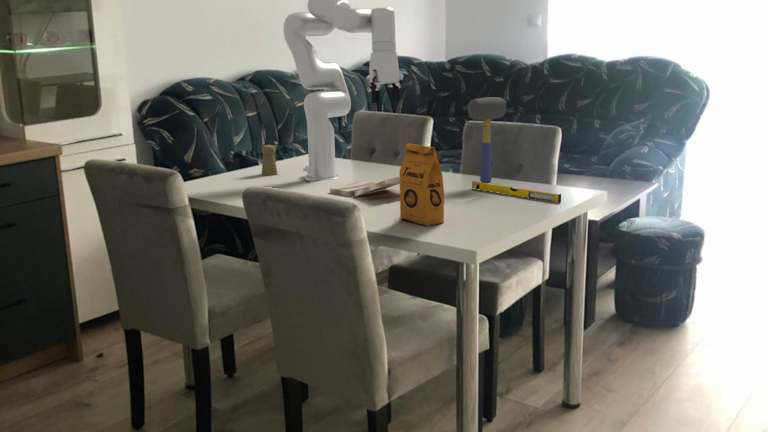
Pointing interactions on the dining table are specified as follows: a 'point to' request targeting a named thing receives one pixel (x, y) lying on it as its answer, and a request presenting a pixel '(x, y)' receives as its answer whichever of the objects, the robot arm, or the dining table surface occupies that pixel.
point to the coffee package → (421, 186)
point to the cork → (269, 161)
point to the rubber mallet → (486, 128)
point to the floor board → (377, 196)
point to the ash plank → (378, 186)
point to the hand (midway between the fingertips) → (386, 102)
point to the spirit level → (517, 191)
